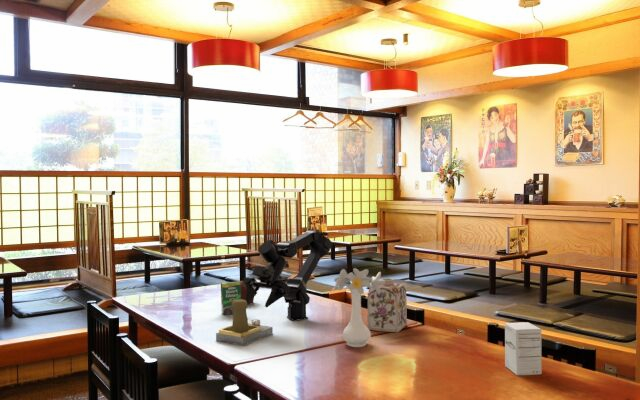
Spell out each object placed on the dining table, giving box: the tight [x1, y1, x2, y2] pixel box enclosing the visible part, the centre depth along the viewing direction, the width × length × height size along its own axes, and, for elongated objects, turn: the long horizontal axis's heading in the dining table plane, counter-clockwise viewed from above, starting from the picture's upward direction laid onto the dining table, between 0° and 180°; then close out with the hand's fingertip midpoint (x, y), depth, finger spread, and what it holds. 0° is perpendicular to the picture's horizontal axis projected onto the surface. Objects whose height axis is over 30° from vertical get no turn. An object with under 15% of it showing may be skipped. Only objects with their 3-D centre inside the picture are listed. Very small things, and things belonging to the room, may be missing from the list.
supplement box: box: [504, 321, 542, 376], centre depth 146 cm, size 7×7×13 cm
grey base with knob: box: [215, 319, 274, 346], centre depth 184 cm, size 16×12×4 cm
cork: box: [231, 299, 249, 333], centre depth 182 cm, size 6×6×11 cm
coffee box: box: [220, 280, 241, 316], centre depth 220 cm, size 8×3×13 cm, turn 113°
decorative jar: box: [367, 277, 408, 333], centre depth 194 cm, size 12×12×18 cm
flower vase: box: [331, 267, 385, 348], centre depth 174 cm, size 13×18×25 cm
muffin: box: [238, 280, 255, 306], centre depth 240 cm, size 12×11×10 cm
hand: (255, 305), depth 189 cm, fingers open, 9 cm apart
